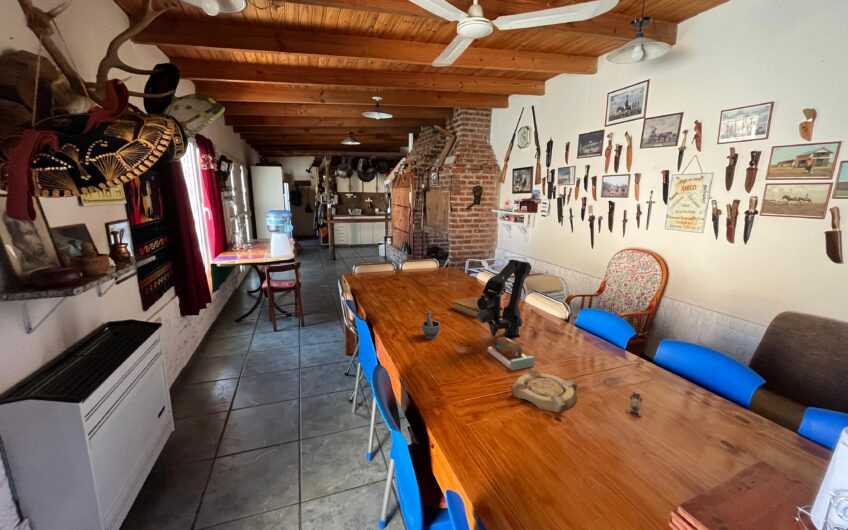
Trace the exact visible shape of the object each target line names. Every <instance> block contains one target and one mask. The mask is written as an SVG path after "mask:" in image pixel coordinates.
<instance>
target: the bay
mask: <svg viewBox="0 0 848 530" xmlns="http://www.w3.org/2000/svg"><path fill="white" fill-rule="evenodd" d="M487 352H488V353H489V354H491V355H492V356H493V357H494V358H496V359H497V360H498V361H500V362H501V363H502V364H503V365H504V366H505V367H507V368H508V369H509V370H511V371H516V370H521V369H526V368H532V367H535V356H533V355H528V356H527V355H525V353H522V357H521V358H518V359H513V360H509V359H507V358H505V357H504V356H502V355H501V354H500V353H498V352H497V351H496V349H495V348H493V347H492V346H488V347H487Z"/></svg>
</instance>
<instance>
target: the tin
mask: <svg viewBox="0 0 848 530" xmlns="http://www.w3.org/2000/svg"><path fill="white" fill-rule="evenodd" d="M494 350H496V351H497V352H498V353H500V354H501V355H502V356H504V357H505V358H506V359H508V360H509V361H510V360H513V359H518V358H521V357H522V354H523V350H522V346H521V345H520V344H519V343H518V341H517V342H516V341H515V340H513V339H511V338H509V337H507V336H498V337H496V339H495V340H494Z"/></svg>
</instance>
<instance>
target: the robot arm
mask: <svg viewBox="0 0 848 530" xmlns="http://www.w3.org/2000/svg"><path fill="white" fill-rule="evenodd" d="M531 270H532V264H531V263H530V262H528V261H521V260H519V259H509V261H508V262H507V264H506V265H505V266H504V267H503V269H501V271H499V272H498V273H497V275H493V276H491V277H490V278H488V279H487V282H486V283H485V285H484V288H483V291H482V295H480V298H479V297H478V298H479V299H478V301H477V306H478V308H479V309H481V310H485V311H480V313H479V314H477V317H478V318H477V320H478V321H479V322H481V324H488V326H489V330H490V333H491V336H492V337H496V336H497V335H496V334H497V333H498V332H499V330H504V332H503V335H505V337H507V338H508V339H514V338H521V335H520V327H522V326H523V322H524V321H523V319H522V318H521V311H520V308H519V305H520V301H521V297H522V296H521V295H522V291H523V288H524V284H525V280H526V279H527V278H528V277H529V275H530V273H531ZM512 275H514V280H513V284H512V287H511V288H512V289H511V292H510V293H511V294H510V298H509V301H508V304H507V306H504V307H502V305H501V302H502V296H503V295H504V292H503V291H504V289H505V288H506V282H507V281H508V280H509V279H510V277H511V276H512ZM501 311H502V313H501ZM501 314H502V315H501Z"/></svg>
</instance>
